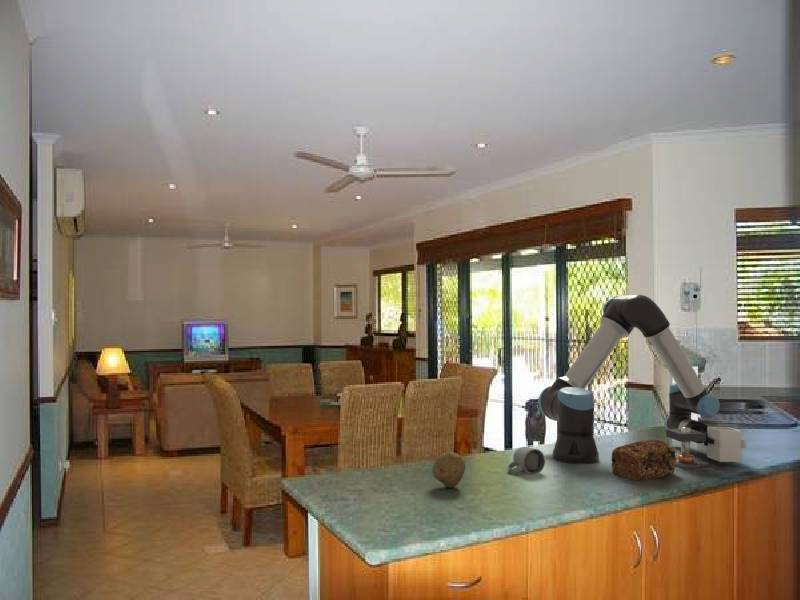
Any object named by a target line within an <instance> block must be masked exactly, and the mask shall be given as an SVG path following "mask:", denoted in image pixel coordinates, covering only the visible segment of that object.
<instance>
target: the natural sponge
mask: <svg viewBox="0 0 800 600" xmlns="http://www.w3.org/2000/svg"><path fill="white" fill-rule="evenodd" d="M465 471H466V463H465V460H464V459H463V457H462V456H461V455H460V454H459V453H456V452H453V451H446V452H443V453H441V454H440V455H438V456H437V458H436V460H435V461H434V464H433V466H432V475H433V477H434V479H436V480H437V481H439V482H440V483H442V484H443V485H444V486H445V487H447V488H449V489H450V488H451V489H452V488H454V487H457V486H458V484H459V483H460V482H461V481H462V479H463V477H464V474H465Z"/></svg>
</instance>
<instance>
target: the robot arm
mask: <svg viewBox="0 0 800 600" xmlns="http://www.w3.org/2000/svg"><path fill="white" fill-rule="evenodd" d="M602 312H603V313H602V316H601V317H600V319H599V321H600V326H599V327H598V329H596V331H595V332H594V334H593V336H592V337H591V338H590V340H589V341H588V343H587V344H586V345H585V347H584V348H583V349H582V351H581V352H580V354H579V355H578V356H577V358H576V359H575V361H574V362H573V363H572V365H571V366H570V367H569V368H568V370H567V372H566V373H565V374H564V376H561V377H559V376H558V377H557V378H556V379H555V381H554V382H553V383H552V385H550V386H547V387H545V388H544V389H543V390H542V391H540V394H539V396H538V407H539V410H540V412H541V413H542V414H543V415H544V416H545V417H547V418H548V419H549V420H551V421H555V422H557V423H558V425H557V428H558V430H557V433H558V434H557V437H556V440H555V444H554V448H553V450H552V459H554V460H555V461H558V462H564V463H567V464H568V463H569V464H593V463H597V462H599V461H600V453H599V451H598V447H597V444H596V440H595V437H594V433H595V431H594V430H595V429H594V428H595V422H594V421H595V397H594V393H593V392H592V391H590V390H588V389H587V387H588V386H589V384H590V383H591V382H592V380H593V379H594V378H595V376H596V375H597V373H598V372H599V370H600V369H601V368H602V367H603V364H604V363H605V362H606V360H607V359H608V358H609V357H610V355H611V354H612V352H613V351H614V349H615V348H616V346H617V345H618V344H619V343H620V341H621V339H624V338H628V337H629V335H631V333H632V332H633V331H634V329H635V328H636V329H638V331H640V333H642V335H643V337H644V338H645V339H646V338H647V339H648V340H649V342H650V343H651V345H652V347H653V348H654V349H655V351H656V353H657V354H658V356H659V358H660V359H661V361H662V362H663V364H664V366H665V367H666V369H667V370H668V372H669V374H670V376H671V377H672V379H673V381H674V382H675V383H672V384H670V386H669V393H668V401H669V402H668V403H669V405H668V406H669V410H668V411H669V414H668V415H667V416H666V417H665V420H664V421H663V422H664V423H663V426H664V429H665V430H666V429H681V427H689V428H690V429H693V430H696V431H699V432H702V433H705V434H706V441H690V443H691V442H693V443H695V444H703V446H705V447H707V446H708V443H709V444H710V445H713V446H716V447H718V448H722V439H719V438H716V437H713V436H709V438H708V436H707V427H709V426H708V425H707V424H706V423H705V422H702V421H698V420H696V419H692V414H695V415H699V416H702V417H713V416H714V415H717V413H718V412H719V410H720V406H721V405H720V401H719V399H718V398H717V397H716V396H714V395H712V394H710V393H708V391H707V389H706V388H705V385H704V384H703V383H702V381H701V379H700V377H699V375H698V374H697V373H696V370H694V368H693V366H692V365H691V362H690V361H689V359H688V358H687V356H686V354H685V353H684V351H683V349H682V348H681V346H680V344H679V343H678V341H677V339H676V337H675V336H674V334H673V332H672V331H671V330H670V326H671V323H670V322H669V319H668V318H667V316H666V315H665V313H664V312H663V311H662V310H661V308H660V306H658V304H657V303H656V302H655V301H654V300H652V299H651V298H650V297H648V296H646V295H643V294H619V295H615V296H612V297H611V298H609V299H608V300H607V301H606V302H605V303H604V306H603V308H602ZM742 448H743V449H746V448H747V439H744V438H742ZM742 448H741V449H742Z"/></svg>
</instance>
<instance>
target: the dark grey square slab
mask: <svg viewBox="0 0 800 600" xmlns="http://www.w3.org/2000/svg"><path fill="white" fill-rule="evenodd" d="M665 436H666V437H667V438H669V439H672V440H674V441H678V442H680V443H681V442H686V441H691V442H692V441H706V434H705V433H702V432H699V431H696V430H693V429H690V432H688V433H683V432H681V429H666V428H665Z"/></svg>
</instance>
